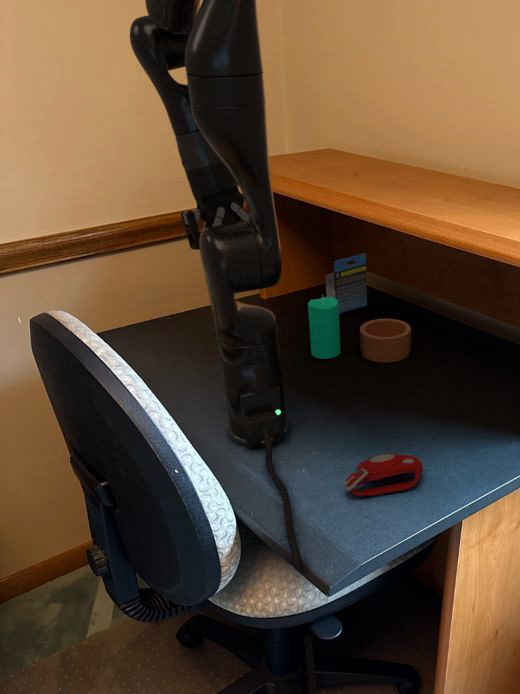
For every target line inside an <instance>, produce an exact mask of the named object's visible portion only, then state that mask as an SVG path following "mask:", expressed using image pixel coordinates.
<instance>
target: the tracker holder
mask: <svg viewBox="0 0 520 694" xmlns="http://www.w3.org/2000/svg"><path fill="white" fill-rule="evenodd" d="M356 470H357V472H354V473H352V474H349V476H348V477H347V478H346V480H345V483H344V484H343V488H344V489H346V490H347V492H350V493H351V494H352V495H354V496H358V497H365V496H366V497H369V496H378V495H384V494H389V493H394V492H400V491H401V492H402V491H406V490H410V489H411V488H413V487H414V486H416V484H417V483H418V482H419V480H420V479H421V477H422V475H423V471H424V468H423V463H422V461H421V459H419V458H418V457H416V456H413V455H408V454H400V453H399V454H398V453H387V452H386V453H379V454H376V455H373V456H371V457H369V458H367V459H365V460H363V461H361V462H360V463H359V464H358V465H357V466H356ZM407 473H410V474H411V473H412V474H415V477H414V479H412V480H409V481H404V482H399V483H392V484H387V485H382V486H376V487H371V488H364V489H355V487H361V486H362V485H363V484H364V482H373V481H377V480H382V479H385V478H386V479H387V478H390V477H393V476H397V475H401V474H407Z"/></svg>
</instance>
